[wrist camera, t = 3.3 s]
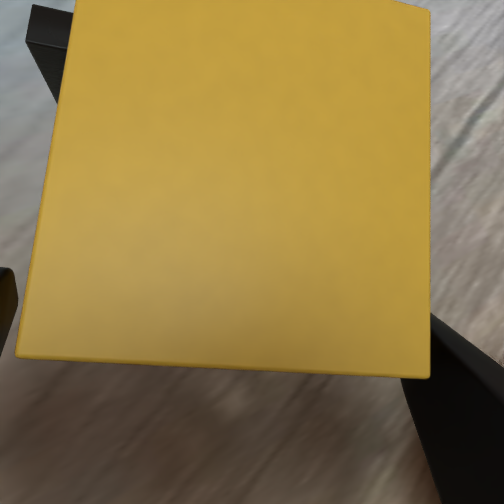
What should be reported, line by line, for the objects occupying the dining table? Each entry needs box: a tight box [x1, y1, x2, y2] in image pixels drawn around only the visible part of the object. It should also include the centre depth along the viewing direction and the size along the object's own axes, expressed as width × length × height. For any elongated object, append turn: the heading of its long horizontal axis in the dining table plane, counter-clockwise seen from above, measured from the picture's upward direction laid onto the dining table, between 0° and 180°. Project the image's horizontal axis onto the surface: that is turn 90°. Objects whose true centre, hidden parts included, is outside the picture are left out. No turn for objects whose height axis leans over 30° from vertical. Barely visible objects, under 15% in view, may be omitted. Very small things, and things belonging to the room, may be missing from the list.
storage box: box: [15, 0, 430, 379], centre depth 13 cm, size 8×7×12 cm
